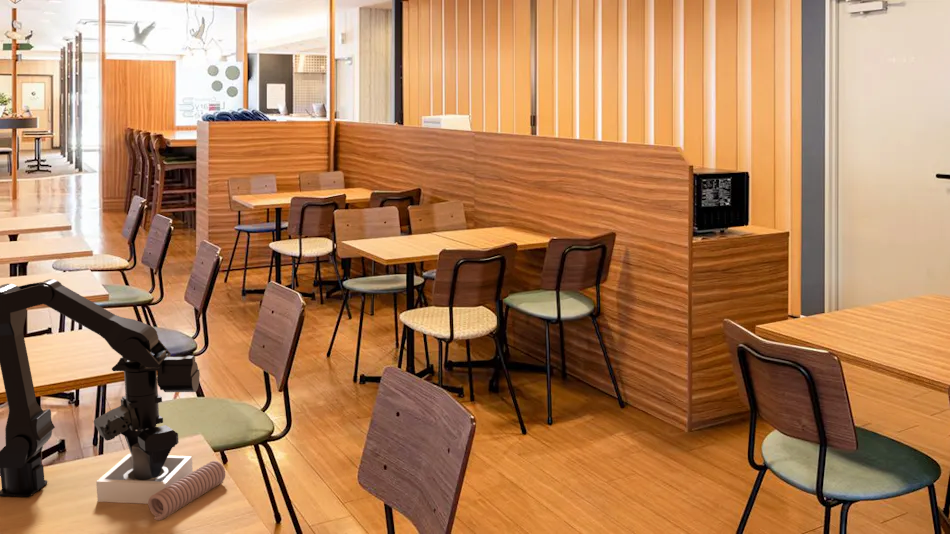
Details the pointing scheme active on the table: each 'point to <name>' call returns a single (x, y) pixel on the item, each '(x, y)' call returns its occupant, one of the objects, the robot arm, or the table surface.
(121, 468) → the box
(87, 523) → the table surface
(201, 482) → the coil
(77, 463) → the table surface
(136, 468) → the plug
